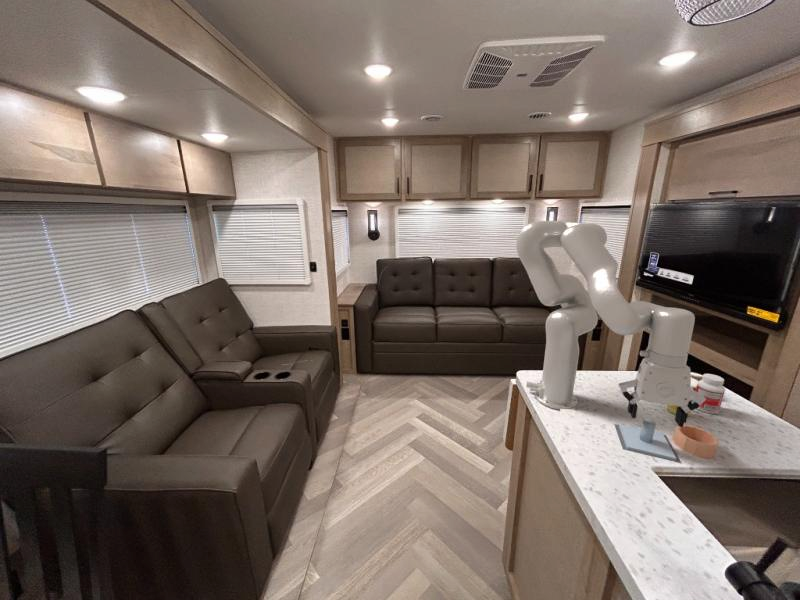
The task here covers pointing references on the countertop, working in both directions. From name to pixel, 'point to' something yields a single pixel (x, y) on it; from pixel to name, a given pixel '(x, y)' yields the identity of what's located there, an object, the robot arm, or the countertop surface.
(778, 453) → the countertop surface
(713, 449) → the bowl
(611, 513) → the countertop surface
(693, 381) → the garlic
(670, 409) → the supplement bottle
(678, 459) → the mat
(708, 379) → the pill bottle
